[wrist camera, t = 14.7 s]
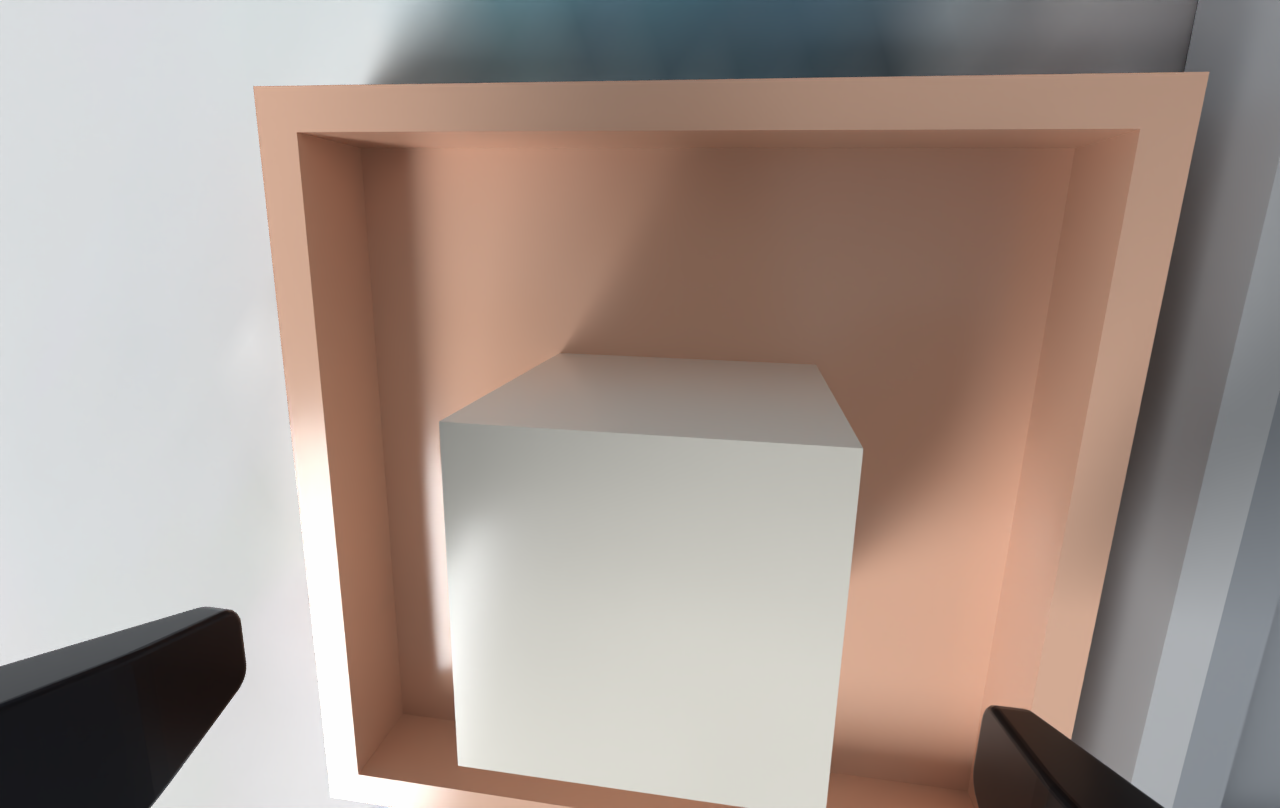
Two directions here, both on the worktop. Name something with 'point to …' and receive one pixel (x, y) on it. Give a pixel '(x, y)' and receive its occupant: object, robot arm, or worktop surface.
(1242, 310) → the bin
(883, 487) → the bin
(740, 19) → the worktop surface
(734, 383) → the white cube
